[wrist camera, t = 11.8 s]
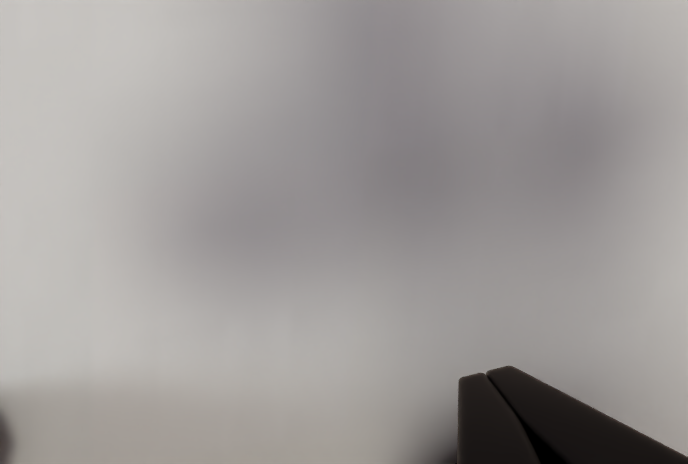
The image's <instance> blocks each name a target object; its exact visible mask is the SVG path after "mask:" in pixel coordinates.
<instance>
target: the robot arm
mask: <svg viewBox="0 0 688 464" xmlns="http://www.w3.org/2000/svg"><path fill="white" fill-rule="evenodd" d="M456 464H688V457H687V456H685V455H683V454H681V453H679V452H677V451H675V450H673V449H671V448H669V447H667V446H665V445H663V444H661V443H660V442H658V441H656V440H654V439H652V438H650V437H648V436H646V435H644V434H642V433H640V432H638V431H636V430H634V429H633V428H631V427H629V426H627V425H625V424H623V423H621V422H619V421H617V420H615V419H613V418H611V417H609V416H607V415H606V414H604V413H602V412H600V411H598V410H596V409H594V408H592V407H590V406H588V405H586V404H584V403H582V402H581V401H579V400H577V399H575V398H573V397H571V396H569V395H567V394H565V393H563V392H561V391H559V390H557V389H555V388H554V387H552V386H550V385H548V384H546V383H544V382H542V381H540V380H538V379H536V378H534V377H532V376H530V375H528V374H527V373H525V372H523V371H521V370H519V369H517V368H515V367H513V366H505V367H501V368H497V369H493V370H489V371H487V373H486V375H485V374H484V373H477V374H473V375H469V376H465V377H462V378H460V379H459V389H458V447H457V463H456Z"/></svg>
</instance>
